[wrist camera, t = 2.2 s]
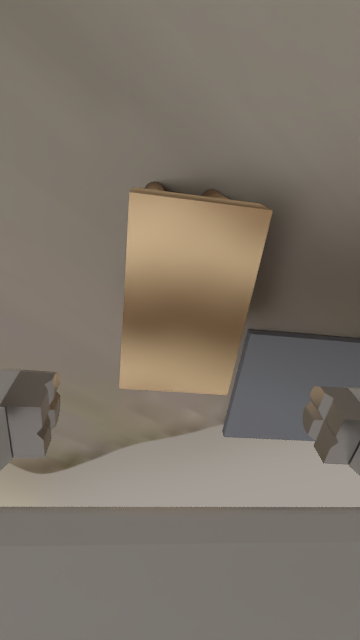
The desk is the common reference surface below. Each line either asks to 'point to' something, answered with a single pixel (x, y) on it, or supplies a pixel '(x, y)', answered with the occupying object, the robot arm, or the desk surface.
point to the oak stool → (187, 288)
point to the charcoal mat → (286, 381)
